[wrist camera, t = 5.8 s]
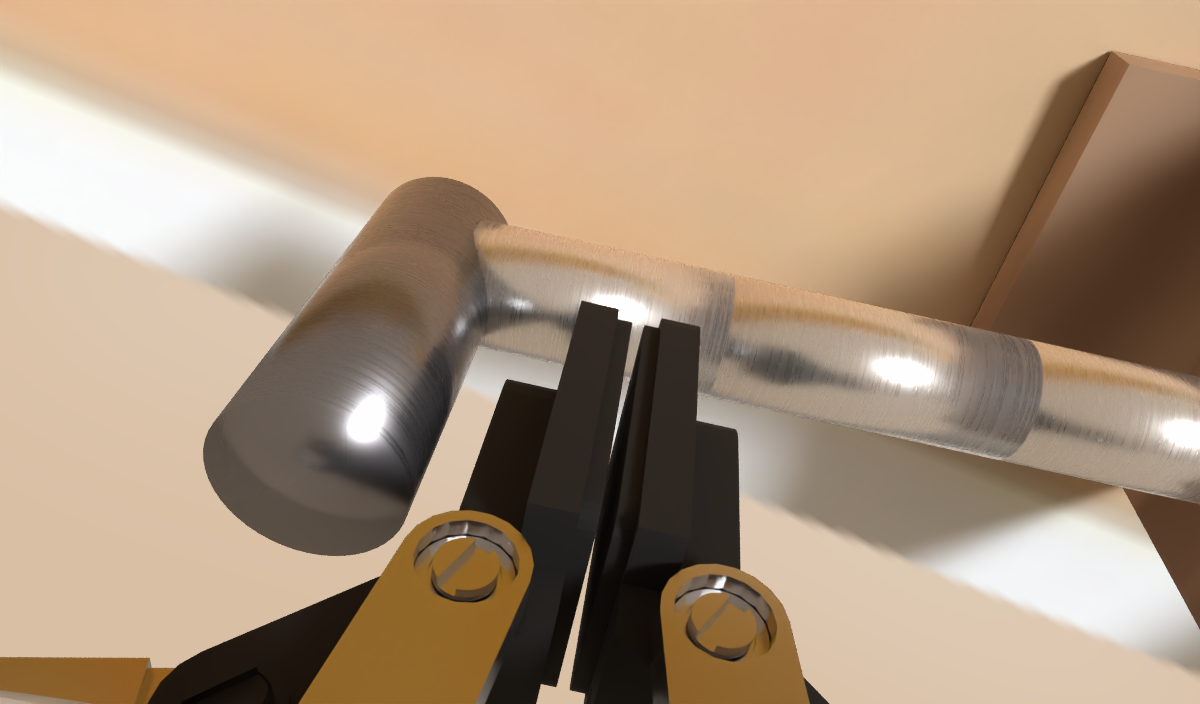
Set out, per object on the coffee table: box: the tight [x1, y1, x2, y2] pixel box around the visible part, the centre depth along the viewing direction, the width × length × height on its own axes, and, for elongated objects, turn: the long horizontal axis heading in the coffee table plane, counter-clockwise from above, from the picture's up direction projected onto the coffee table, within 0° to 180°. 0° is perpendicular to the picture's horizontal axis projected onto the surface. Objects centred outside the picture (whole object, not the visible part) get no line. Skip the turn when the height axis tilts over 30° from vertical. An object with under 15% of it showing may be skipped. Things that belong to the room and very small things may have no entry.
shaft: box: [203, 177, 1200, 556], centre depth 13 cm, size 20×2×6 cm, turn 79°
